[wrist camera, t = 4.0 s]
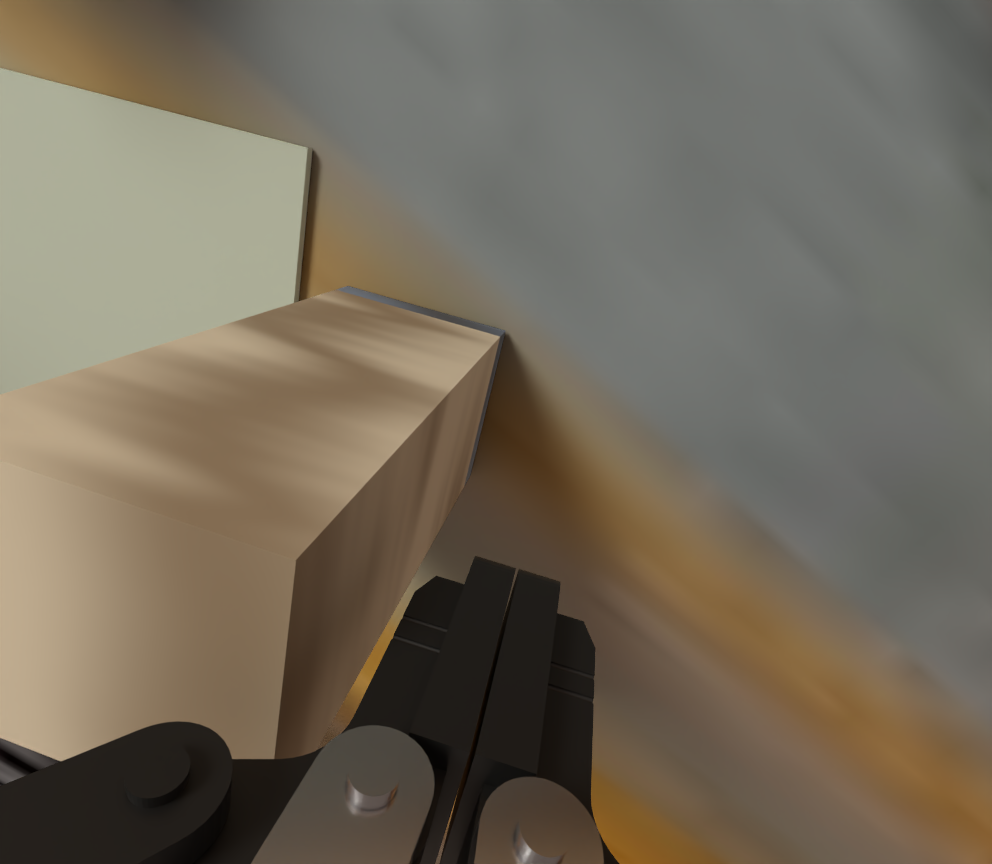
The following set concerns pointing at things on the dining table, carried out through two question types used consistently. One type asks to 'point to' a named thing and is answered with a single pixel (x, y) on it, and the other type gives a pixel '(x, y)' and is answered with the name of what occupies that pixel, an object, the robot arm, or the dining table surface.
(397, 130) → the dining table surface
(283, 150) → the board
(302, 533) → the birch block
